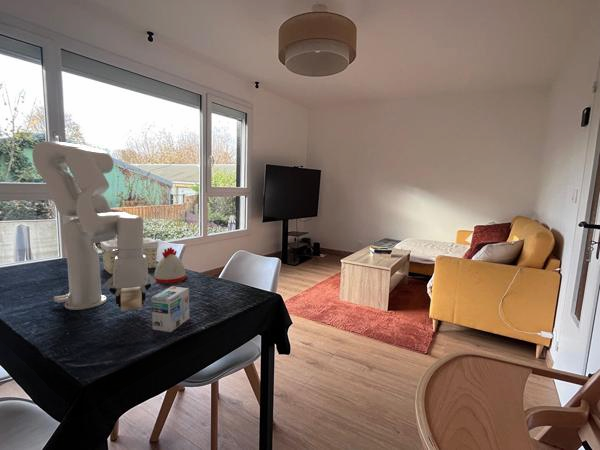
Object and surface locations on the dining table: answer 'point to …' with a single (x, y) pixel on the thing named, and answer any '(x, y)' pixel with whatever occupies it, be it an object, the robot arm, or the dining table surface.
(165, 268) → the kitchen timer
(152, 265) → the storage basket
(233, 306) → the dining table surface
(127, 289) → the maple block
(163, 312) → the light bulb box
